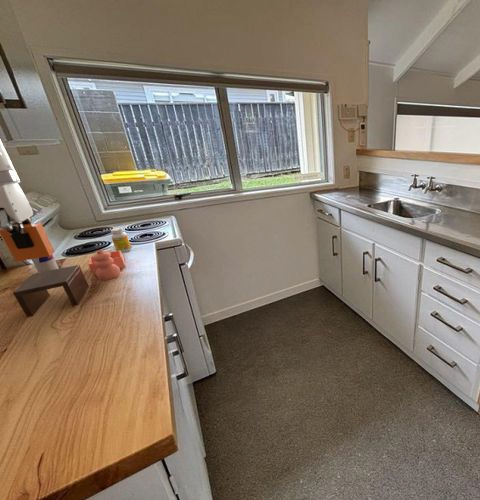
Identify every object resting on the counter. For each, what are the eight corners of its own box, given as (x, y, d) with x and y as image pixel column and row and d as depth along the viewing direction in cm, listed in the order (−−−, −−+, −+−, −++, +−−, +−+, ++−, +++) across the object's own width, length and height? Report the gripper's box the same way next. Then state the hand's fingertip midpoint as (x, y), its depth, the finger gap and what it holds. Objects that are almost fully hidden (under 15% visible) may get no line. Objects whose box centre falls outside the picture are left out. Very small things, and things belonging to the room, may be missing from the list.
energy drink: (62, 271, 105) (47, 242, 101) (43, 278, 101) (26, 247, 96) (57, 269, 108) (42, 239, 103) (38, 274, 104) (22, 244, 99)
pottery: (93, 266, 108) (83, 243, 104) (124, 259, 114) (115, 236, 110) (92, 284, 95) (80, 257, 91) (126, 275, 101) (116, 249, 97)
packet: (15, 261, 77) (-2, 230, 74) (21, 256, 80) (6, 226, 77) (49, 256, 80) (35, 226, 77) (54, 251, 84) (41, 222, 80)
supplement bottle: (117, 253, 120) (109, 232, 116) (116, 250, 124) (107, 229, 120) (132, 249, 123) (124, 228, 119) (131, 246, 127) (123, 226, 123)
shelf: (27, 317, 79) (12, 292, 75) (44, 296, 89) (32, 273, 86) (78, 304, 83) (66, 281, 80) (89, 286, 94) (79, 264, 91)
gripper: (-8, 176, 77) (24, 238, 84) (-47, 184, 63) (-5, 258, 71) (30, 173, 80) (58, 234, 87) (0, 181, 67) (36, 252, 74)
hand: (29, 244), depth 79 cm, fingers closed on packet, 4 cm apart
